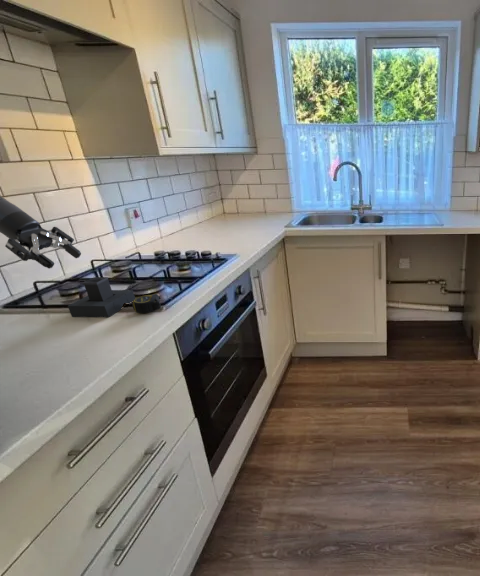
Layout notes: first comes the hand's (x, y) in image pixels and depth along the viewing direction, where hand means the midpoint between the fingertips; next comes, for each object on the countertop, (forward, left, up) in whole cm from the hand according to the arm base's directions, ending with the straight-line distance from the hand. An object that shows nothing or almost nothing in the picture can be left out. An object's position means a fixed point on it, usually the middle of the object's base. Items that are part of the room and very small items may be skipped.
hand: (66, 260), depth 101 cm
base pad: (+2, -6, -15) cm, 16 cm away
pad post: (+2, -6, -15) cm, 16 cm away
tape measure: (+6, -20, -15) cm, 26 cm away
